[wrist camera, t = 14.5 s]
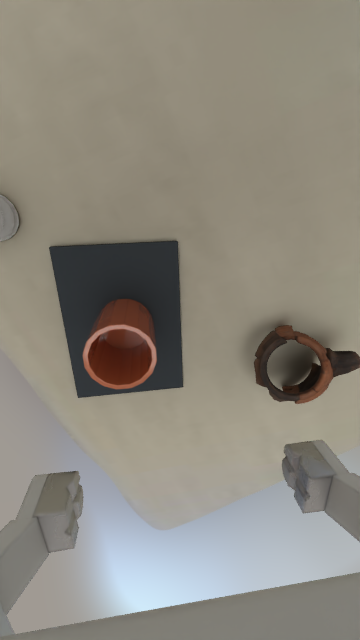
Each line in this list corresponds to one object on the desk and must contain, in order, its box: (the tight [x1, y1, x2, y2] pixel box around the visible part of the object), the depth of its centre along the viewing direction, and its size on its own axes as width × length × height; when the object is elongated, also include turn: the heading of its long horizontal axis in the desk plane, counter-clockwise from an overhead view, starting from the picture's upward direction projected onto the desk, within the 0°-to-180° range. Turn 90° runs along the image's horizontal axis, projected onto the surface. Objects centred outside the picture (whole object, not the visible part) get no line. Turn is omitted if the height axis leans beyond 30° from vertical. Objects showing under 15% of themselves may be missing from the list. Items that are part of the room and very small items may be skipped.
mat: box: [49, 241, 183, 398], centre depth 32 cm, size 18×13×1 cm
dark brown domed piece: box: [254, 325, 360, 404], centre depth 34 cm, size 12×10×8 cm
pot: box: [83, 299, 157, 389], centre depth 28 cm, size 6×6×8 cm
